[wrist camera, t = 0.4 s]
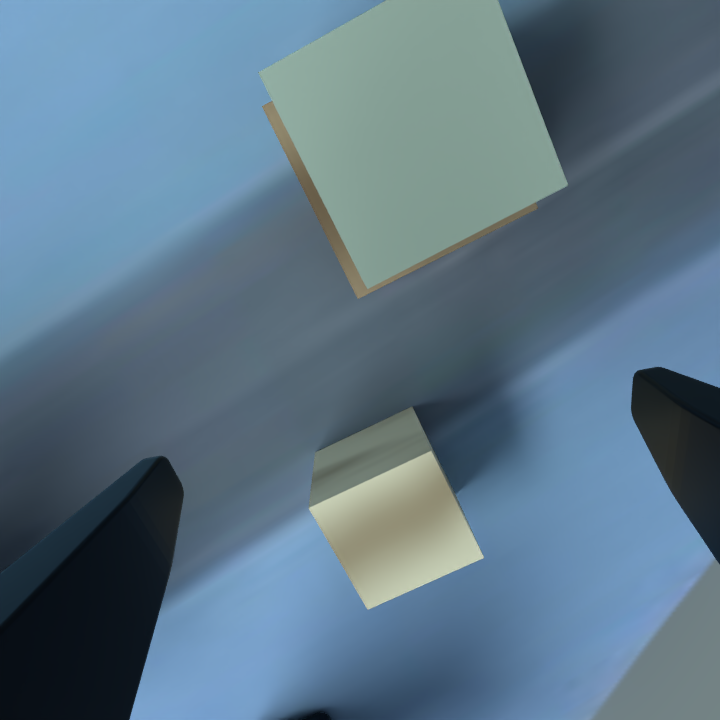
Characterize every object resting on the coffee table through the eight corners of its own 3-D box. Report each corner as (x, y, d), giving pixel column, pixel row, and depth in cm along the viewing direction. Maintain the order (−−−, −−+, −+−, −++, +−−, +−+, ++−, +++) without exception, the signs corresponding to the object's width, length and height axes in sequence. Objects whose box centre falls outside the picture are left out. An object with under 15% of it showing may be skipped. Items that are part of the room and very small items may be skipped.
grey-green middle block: (516, 197, 17) (567, 185, 13) (361, 278, 17) (367, 289, 14) (443, 20, 16) (478, -52, 12) (277, 112, 16) (258, 72, 12)
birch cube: (454, 493, 24) (483, 557, 19) (362, 535, 24) (367, 609, 19) (411, 405, 23) (431, 450, 18) (315, 451, 23) (308, 507, 18)
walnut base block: (501, 214, 21) (538, 208, 17) (354, 288, 22) (357, 299, 18) (434, 48, 19) (457, 0, 16) (276, 132, 20) (262, 106, 16)
